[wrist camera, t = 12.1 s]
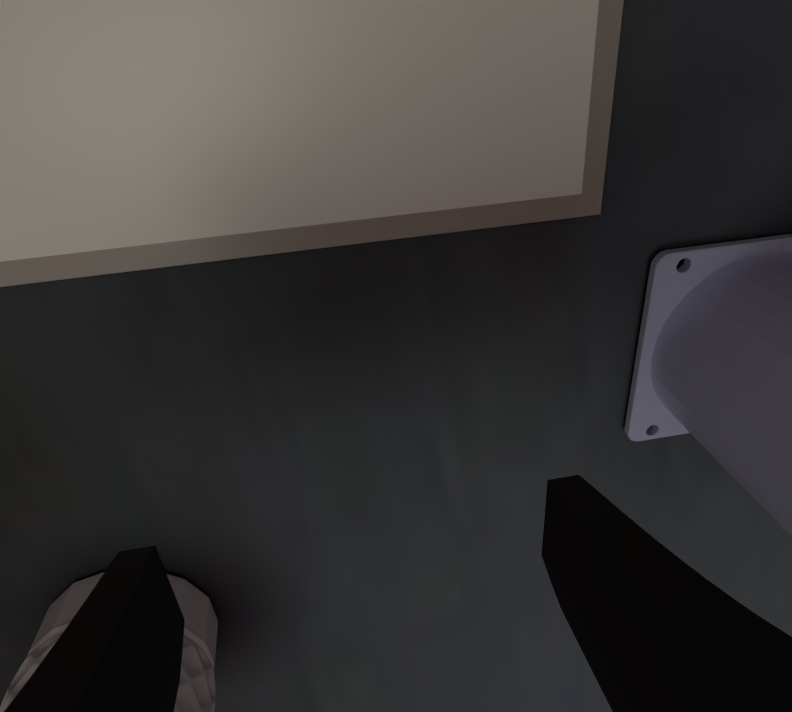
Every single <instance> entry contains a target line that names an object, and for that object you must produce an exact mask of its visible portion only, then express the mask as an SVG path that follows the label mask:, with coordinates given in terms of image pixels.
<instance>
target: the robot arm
mask: <svg viewBox="0 0 792 712" xmlns="http://www.w3.org/2000/svg"><path fill="white" fill-rule="evenodd" d="M682 259H684V263H683V265H681V266H680V267H679V268H676V266H677V264H678V262H679V261H680V260H682ZM650 426H652V427H651V428H649V427H650ZM647 428H649V429H647ZM624 430H625V434H626V435H627V436H628V437H629V439H630V440H632V441H643V440H649V439H655V438H662V437H668V436H674V435H680V434H686V433H691V434H692V435H693V436H694V437H695V438H696V440H697V441H698V442H699V443H700V444H701V445H702V446H703V447H704V448H705V449H706V450H707V451H708V452H709V453H710V454H711V455H712V456H713V457H714V458H715V459H716V460H717V461H718V462H719V463H720V464H721V465H722V466H723V467H724V468H725V469H726V470H727V471H728V472H729V474H730V475H731V476H732V477H733V478H734V479H735V480H736V481H737V482H738V483H739V484H740V485H741V486H742V487H743V488H744V489H745V490H746V491H747V492H748V493H749V494H750V495H751V496H752V497H753V498H754V499H755V500H756V501H757V502H758V503H759V504H760V505H761V506H762V508H763V509H764V510H765V511H766V512H767V513H768V514H769V515H770V516H771V517H772V518H773V519H774V520H775V521H776V522H777V523H778V524H779V525H780V526H781V527H782V528H783V529H784V530H785V531H786V532H787V533H788V534H789V535H790V536H791V537H792V234H786V235H778V236H770V237H763V238H755V239H747V240H739V241H732V242H724V243H716V244H708V245H701V246H693V247H685V248H677V249H669V250H665V251H662V252H660V253H659V254H657V255H656V256H655V257H654V259H653V260H652V263H651V266H650V272H649V278H648V284H647V291H646V297H645V303H644V309H643V316H642V322H641V328H640V334H639V341H638V347H637V353H636V359H635V366H634V372H633V378H632V384H631V391H630V397H629V403H628V409H627V416H626V422H625V428H624ZM542 558H543V560H544V563H545V566H546V569H547V572H548V574H549V577H550V580H551V583H552V586H553V588H554V591H555V594H556V596H557V599H558V601H559V604H560V607H561V609H562V611H563V613H564V615H565V617H566V619H567V621H568V623H569V625H570V627H571V629H572V631H573V633H574V635H575V637H576V639H577V641H578V643H579V645H580V647H581V649H582V651H583V653H584V655H585V657H586V659H587V661H588V663H589V665H590V667H591V669H592V671H593V673H594V675H595V677H596V679H597V681H598V683H599V685H600V687H601V689H602V691H603V693H604V695H605V697H606V699H607V701H608V703H609V705H610V707H611V709H612V711H613V712H792V637H791V636H789V635H788V634H786V633H784V632H783V631H781V630H780V629H778V628H777V627H775V626H774V625H772V624H770V623H769V622H767V621H766V620H764V619H763V618H761V617H759V616H758V615H756V614H755V613H753V612H752V611H750V610H749V609H748V608H746V607H745V606H743V605H742V604H740V603H739V602H737V601H736V600H734V599H733V598H732V597H730V596H729V595H728V594H726V593H725V592H723V591H722V590H721V589H719V588H718V587H717V586H715V585H714V584H712V583H711V582H710V581H708V580H707V579H705V578H704V577H703V576H701V575H700V574H699V573H698V572H696V571H695V570H694V569H692V568H691V567H690V566H688V565H687V564H686V563H684V562H683V561H682V560H681V559H679V558H678V557H677V556H676V555H674V554H673V553H672V552H671V551H669V550H668V549H667V548H666V547H664V546H663V545H662V544H660V543H659V542H658V541H657V540H655V539H654V538H653V537H652V536H651V535H649V534H648V533H647V532H646V531H644V530H643V529H642V528H641V527H640V526H638V525H637V524H636V523H635V522H634V521H632V520H631V519H630V518H629V517H628V516H627V515H625V514H624V513H623V512H622V511H621V510H619V509H618V508H617V507H616V506H615V505H614V504H612V503H611V502H610V501H609V500H608V499H607V498H605V497H604V496H603V495H602V494H601V493H600V492H598V491H597V490H596V489H595V488H594V487H593V486H591V485H590V484H589V483H588V482H587V481H586V480H584V479H583V478H582V477H581V476H579V475H576V476H570V477H564V478H558V479H552V480H548V484H547V496H546V509H545V521H544V533H543V546H542ZM184 623H185V619H184V617H183V614H182V612H181V609H180V607H179V604H178V602H177V599H176V597H175V594H174V592H173V589H172V587H171V584H170V582H169V579H168V577H167V574H166V572H165V569H164V567H163V564H162V562H161V559H160V557H159V554H158V552H157V549H156V547H155V546H151V547H145V548H139V549H133V550H127V551H121V552H119V553H118V554H117V555H116V557H115V558H114V559H113V561H112V562H111V564H110V565H109V567H108V568H107V569H106V571H105V572H104V574H103V575H102V577H101V578H100V580H99V581H98V583H97V584H96V586H95V587H94V588H93V590H92V591H91V593H90V594H89V596H88V597H87V599H86V600H85V602H84V603H83V605H82V606H81V607H80V609H79V610H78V612H77V613H76V615H75V616H74V617H73V619H72V620H71V622H70V623H69V625H68V626H67V628H66V629H65V630H64V632H63V633H62V634H61V636H60V637H59V639H58V640H57V641H56V643H55V644H54V646H53V647H52V648H51V650H50V651H49V652H48V654H47V655H46V657H45V658H44V659H43V661H42V662H41V663H40V665H39V666H38V668H37V669H36V670H35V672H34V673H33V674H32V676H31V677H30V678H29V680H28V681H27V682H26V684H25V685H24V686H23V688H22V689H21V690H20V692H19V693H18V694H17V695H16V697H15V698H14V699H13V701H12V702H11V703H10V704H9V706H8V707H7V708H6V709H5V711H4V712H174V708H175V703H176V698H177V692H178V687H179V681H180V673H181V662H182V651H183V637H184Z"/></svg>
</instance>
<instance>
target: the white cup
mask: <svg viewBox="0 0 792 712" xmlns="http://www.w3.org/2000/svg"><path fill="white" fill-rule="evenodd" d="M103 574H104V572H102V573H99V574H96V575H94V576H91V577H88V578H85V579H83V580H80V581H77V582H74V583H73V584H72V585H71V586H70V587H68V588H67V589H66V590H65V591H64V592H63V593H62V594H61V595H60V596H59V597H58V598H57V599H56V600H55V601H54V602H53V603H52V604H51V605H50V607H49V609H48V611H47V613H46V615H45V618H44V620H43V622H42V624H41V626H40V629H39V631H38V633H37V635H36V637H35V640H34V642H33V644H32V646H31V649H30V651H29V653H28V656H27V658H26V659H25V661H24V662H23V664H22V665H21V667H20V669H19V670H18V672H17V673H16V675H15V677H14V679H13V680H12V682H11V684H10V686H9V688H8V690H7V692H6V694H5V697H4V699H3V701H2V703H1V706H0V712H4V711H5V709H6V708H7V707H8V706H9V704H10V703H11V702H12V701H13V699H14V698H15V697H16V695H17V694H18V693H19V692H20V690H21V689H22V688H23V686H24V685H25V684H26V682H27V681H28V680H29V678H30V677H31V676H32V674H33V673H34V672H35V670H36V669H37V668H38V666H39V665H40V663H41V662H42V661H43V659H44V658H45V657H46V655H47V654H48V652H49V651H50V650H51V648H52V647H53V646H54V644H55V643H56V641H57V640H58V639H59V637H60V636H61V634H62V633H63V632H64V630H65V629H66V628H67V626H68V625H69V623H70V622H71V620H72V619H73V617H74V616H75V615H76V613H77V612H78V610H79V609H80V607H81V606H82V605H83V603H84V602H85V600H86V599H87V597H88V596H89V594H90V593H91V591H92V590H93V588H94V587H95V586H96V584H97V583H98V581H99V580H100V578H101V577H102V575H103ZM167 577H168V579H169V582H170V584H171V587H172V589H173V592H174V594H175V597H176V599H177V602H178V604H179V607H180V609H181V612H182V614H183V617H184V619H185V623H184V637H183V651H182V662H181V673H180V681H179V687H178V692H177V698H176V703H175V708H174V712H214V711H215V677H214V666H215V654H216V641H217V628H218V620H217V617H216V614H215V612H214V609H213V607H212V604H211V602H210V599H209V597H208V596H207V595H205V594H204V593H203V592H201V591H200V590H199V589H197V588H196V587H195V586H193V585H192V584H191V583H189V582H188V581H187V580H185V579H183V578H180V577H176V576H173V575H169V574H167Z"/></svg>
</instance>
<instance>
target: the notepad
mask: <svg viewBox="0 0 792 712" xmlns="http://www.w3.org/2000/svg"><path fill="white" fill-rule="evenodd" d="M623 2H624V0H0V287H4V286H12V285H20V284H29V283H37V282H45V281H53V280H62V279H70V278H78V277H86V276H95V275H103V274H111V273H120V272H128V271H136V270H144V269H153V268H161V267H169V266H177V265H186V264H194V263H202V262H211V261H219V260H227V259H235V258H244V257H252V256H260V255H268V254H277V253H285V252H293V251H302V250H310V249H318V248H326V247H335V246H343V245H351V244H359V243H368V242H376V241H384V240H393V239H401V238H409V237H417V236H426V235H434V234H442V233H450V232H459V231H467V230H475V229H484V228H492V227H500V226H508V225H517V224H525V223H533V222H541V221H550V220H558V219H566V218H575V217H583V216H591V215H599V214H601V204H602V195H603V186H604V177H605V167H606V158H607V149H608V140H609V131H610V121H611V112H612V103H613V94H614V85H615V75H616V66H617V57H618V48H619V38H620V29H621V20H622V11H623Z"/></svg>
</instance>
